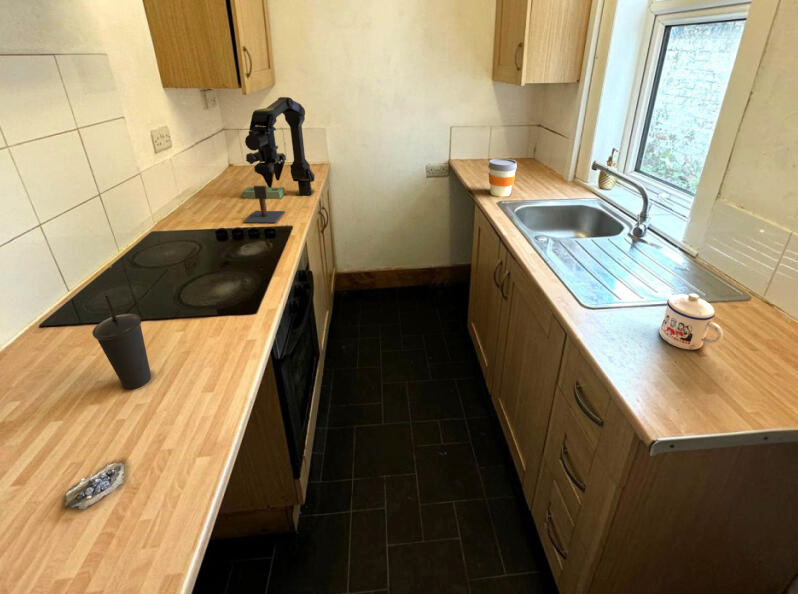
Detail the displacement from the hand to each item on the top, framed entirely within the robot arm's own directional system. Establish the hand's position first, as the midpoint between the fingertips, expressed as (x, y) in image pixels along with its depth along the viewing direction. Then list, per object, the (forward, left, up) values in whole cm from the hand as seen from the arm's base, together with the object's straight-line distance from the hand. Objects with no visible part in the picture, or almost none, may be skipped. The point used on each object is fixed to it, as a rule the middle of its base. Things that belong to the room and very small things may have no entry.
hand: (274, 183), depth 165 cm
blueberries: (+117, +10, -13) cm, 118 cm away
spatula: (+5, -4, -12) cm, 13 cm away
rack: (-22, -14, -13) cm, 29 cm away
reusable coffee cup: (-28, +95, -13) cm, 100 cm away
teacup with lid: (+80, +120, -13) cm, 145 cm away
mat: (+5, -4, -13) cm, 14 cm away
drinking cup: (+95, +2, -13) cm, 96 cm away
